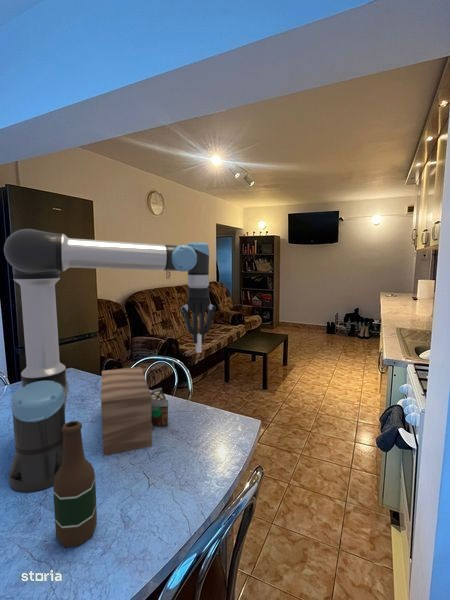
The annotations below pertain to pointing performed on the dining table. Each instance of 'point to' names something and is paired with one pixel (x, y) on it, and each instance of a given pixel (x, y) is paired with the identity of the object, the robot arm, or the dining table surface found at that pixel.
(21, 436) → the robot arm
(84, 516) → the beer bottle
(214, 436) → the dining table surface
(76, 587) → the dining table surface
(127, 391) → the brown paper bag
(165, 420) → the food container
